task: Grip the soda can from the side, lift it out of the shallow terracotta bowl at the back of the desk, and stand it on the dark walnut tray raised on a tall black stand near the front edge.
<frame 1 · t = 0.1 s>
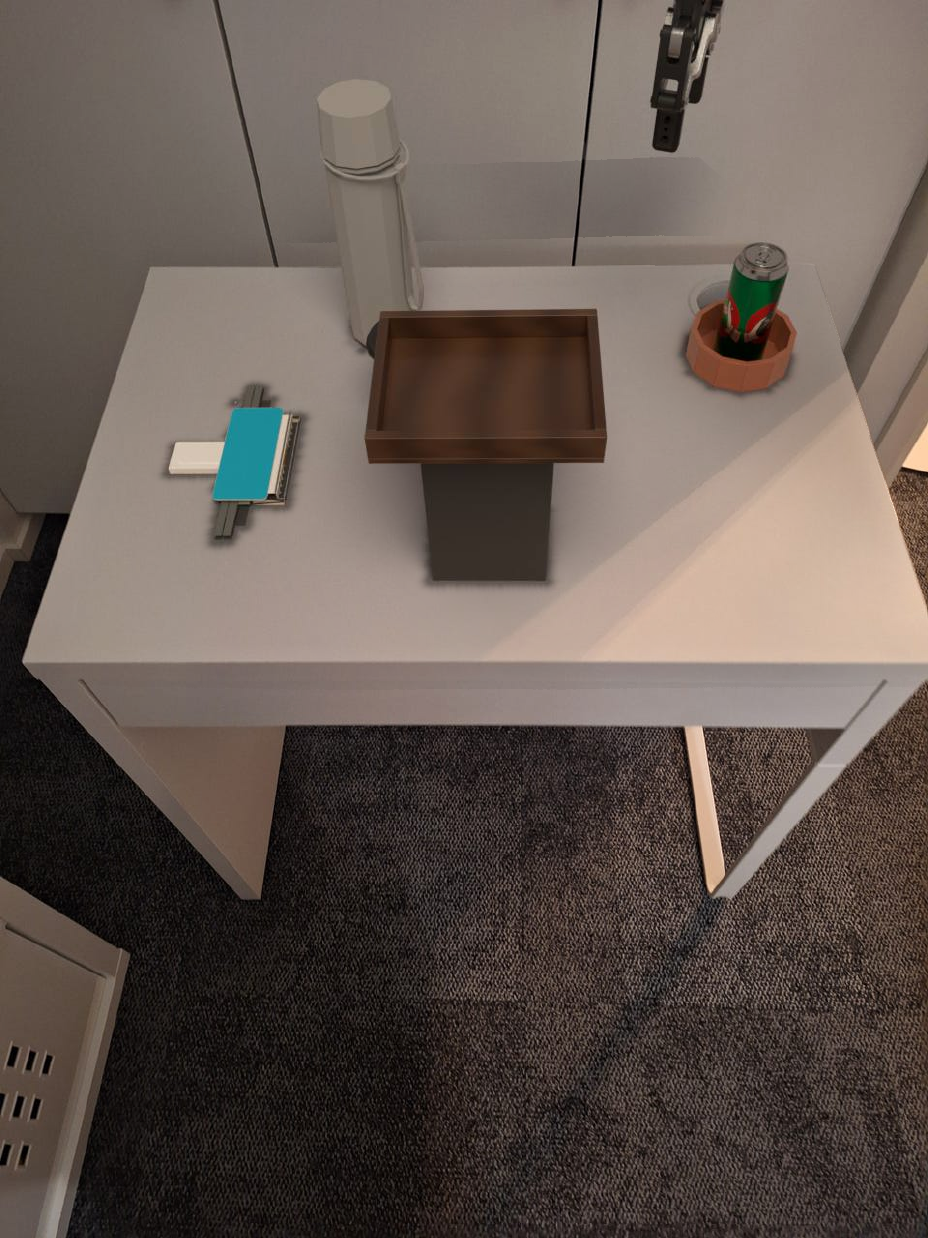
hand: (676, 124, 81), 22 cm above the table, tool pointing down, fingers open, 8 cm apart
water bottle: (391, 336, 100), on the table
coffee cup: (416, 411, 93), on the table
stand: (489, 545, 83), on the table
tray: (487, 396, 68), resting on stand
bowl: (736, 357, 96), on the table
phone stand: (234, 461, 90), on the table
soda can: (736, 358, 96), resting on bowl
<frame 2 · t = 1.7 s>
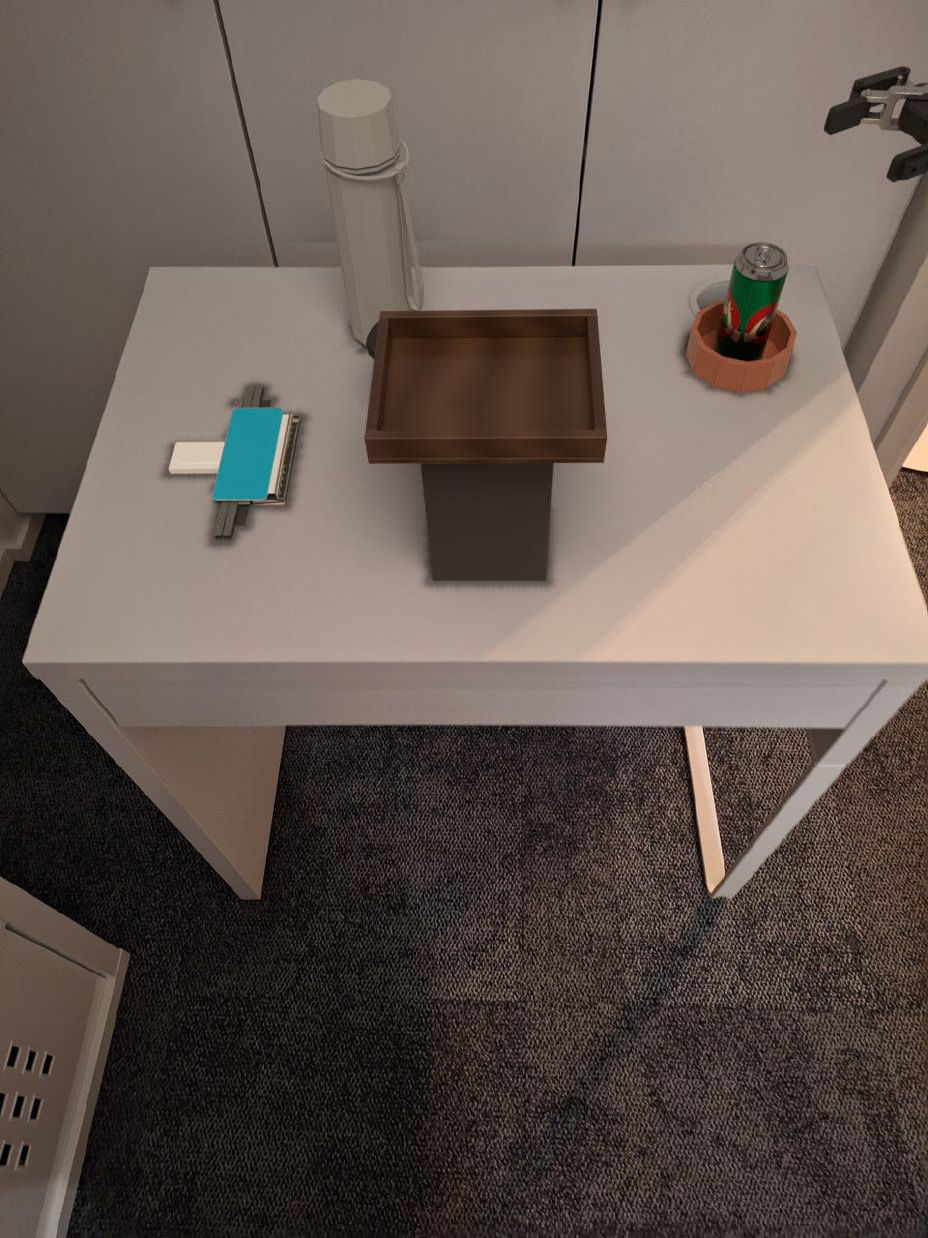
hand: (859, 145, 81), 20 cm above the table, tool horizontal, fingers open, 8 cm apart
nothing on the table moved.
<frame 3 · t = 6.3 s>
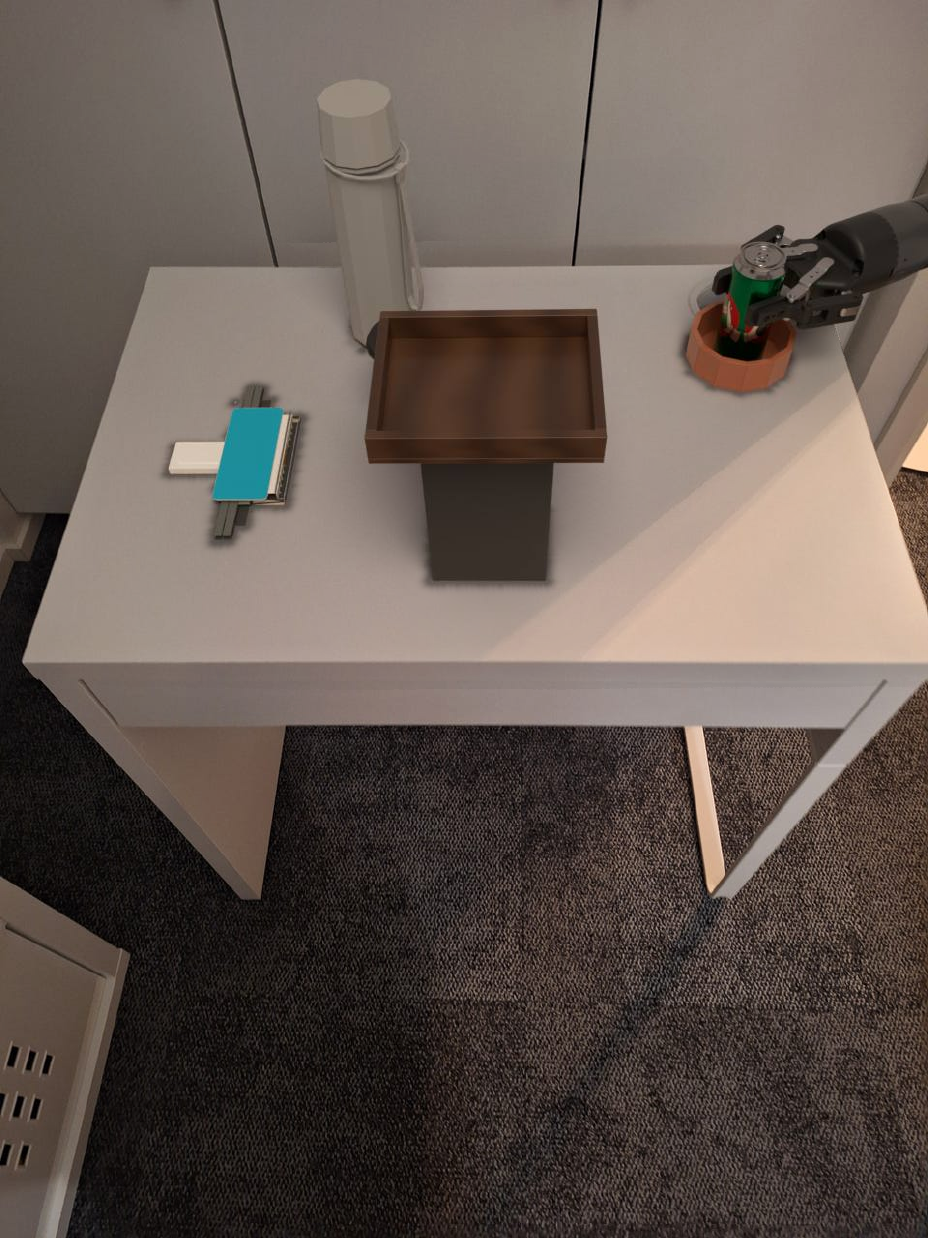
hand: (731, 300, 89), 8 cm above the table, tool horizontal, fingers closed on soda can, 5 cm apart
soda can: (736, 357, 96), resting on bowl, touching gripper
everything else where it was.
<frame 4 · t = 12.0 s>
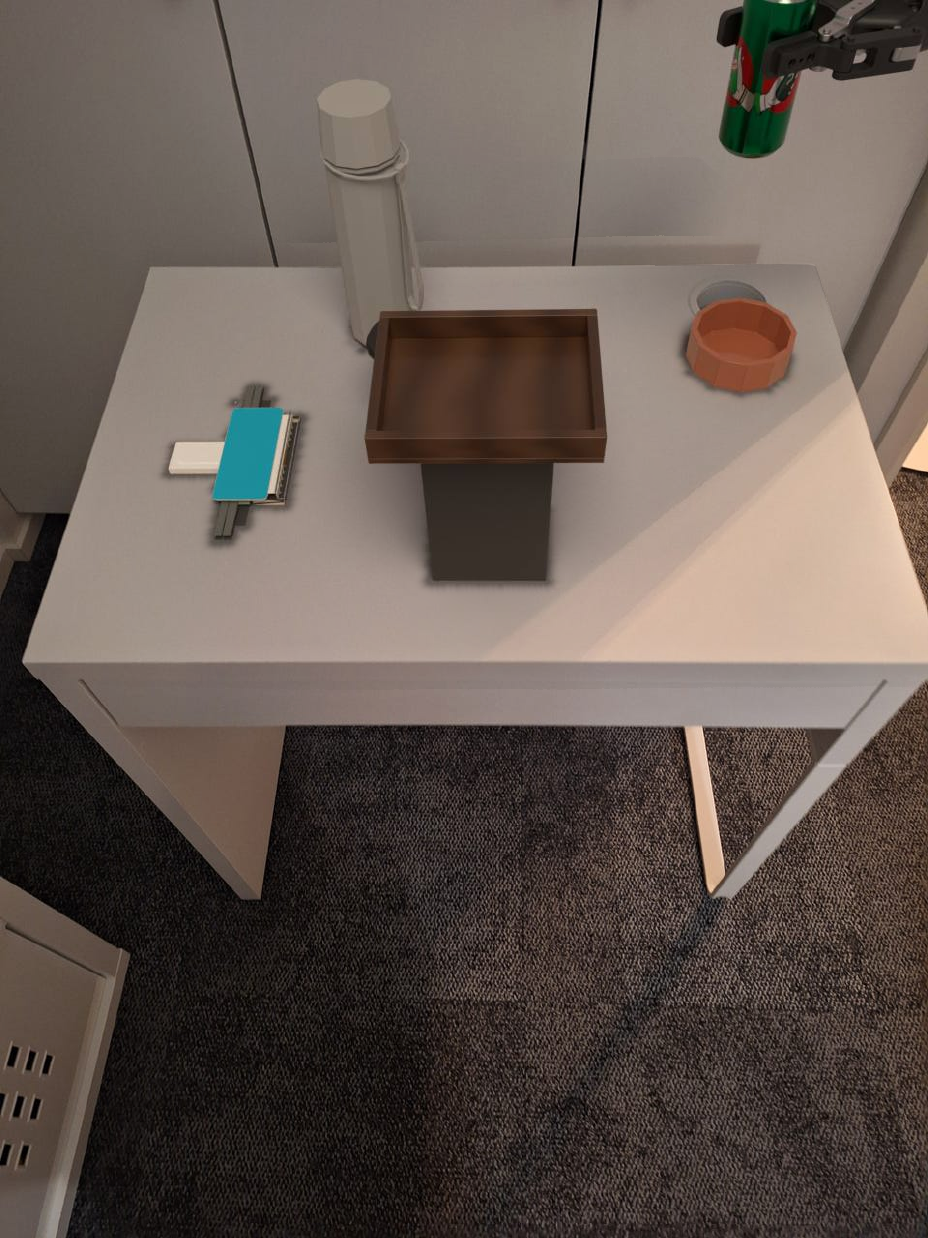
hand: (743, 45, 65), 33 cm above the table, tool horizontal, fingers closed on soda can, 5 cm apart
soda can: (749, 146, 72), point 25 cm above the table, touching gripper
everything else where it was.
when the fingers open (26 cm above the table, at t = 18.1 s): soda can stays where it is, resting on tray.
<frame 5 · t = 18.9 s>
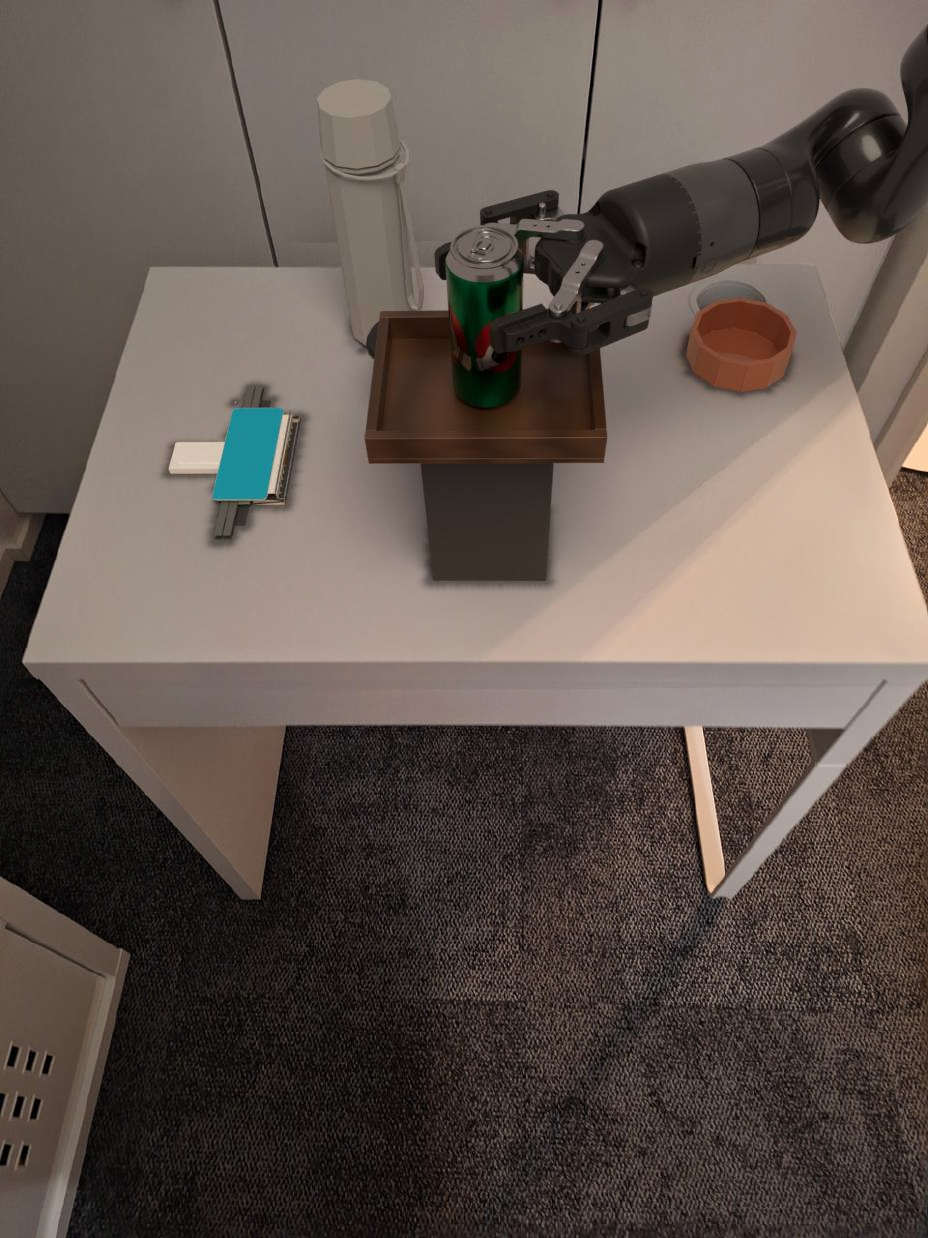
hand: (463, 300, 60), 27 cm above the table, tool horizontal, fingers open, 8 cm apart
soda can: (487, 391, 68), point 18 cm above the table, touching tray
everything else where it was.
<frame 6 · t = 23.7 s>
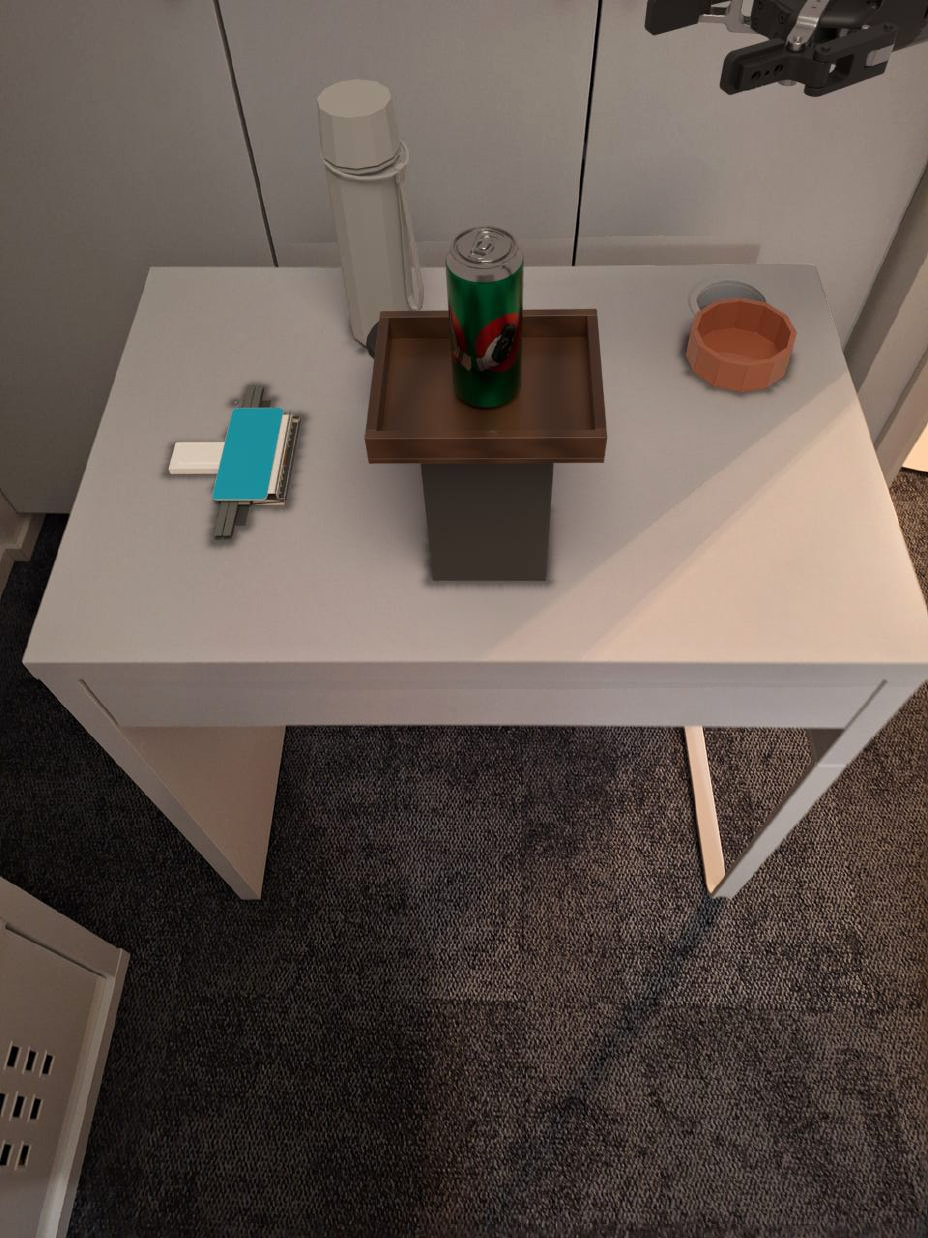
hand: (685, 44, 56), 38 cm above the table, tool horizontal, fingers open, 8 cm apart
nothing on the table moved.
at the end: soda can inside the target area on the tray (0.2 cm from its centre), point 0.3 cm above the tray's base; soda can tilted 0° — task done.
